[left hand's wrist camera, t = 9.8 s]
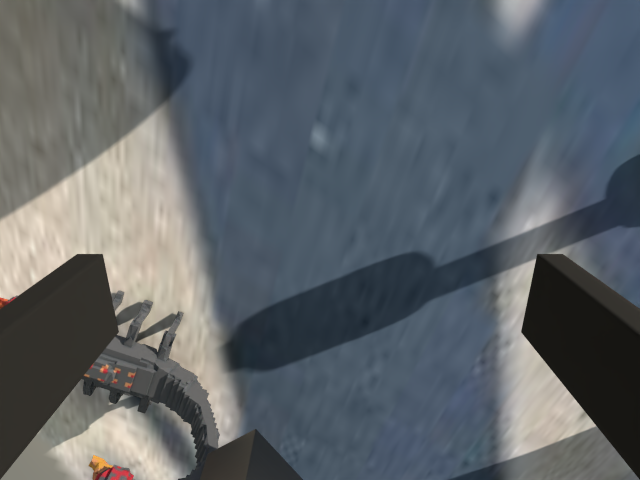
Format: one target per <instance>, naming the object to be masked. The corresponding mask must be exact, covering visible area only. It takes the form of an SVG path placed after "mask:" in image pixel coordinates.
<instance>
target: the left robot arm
mask: <svg viewBox="0 0 640 480" xmlns="http://www.w3.org/2000/svg"><path fill="white" fill-rule="evenodd" d="M118 332H119V331H118V326H117V321H116V316H115V311H114V307H113V302H112V297H111V292H110V287H109V283H108V278H107V273H106V268H105V263H104V258H103V254H77V255H75V256H74V257H73V258H71V259H70V260H68V261H67V262H66V263H64V264H63V265H61V266H60V267H59V268H57V269H56V270H54V271H53V272H51V273H50V274H49V275H47V276H46V277H44V278H43V279H42V280H40V281H39V282H37V283H36V284H35V285H33V286H32V287H30V288H29V289H28V290H26V291H25V292H23V293H22V294H21V295H19V296H18V297H16V298H15V299H13V300H12V301H11V302H9V303H8V304H6V305H5V306H4V307H2V308H1V309H0V479H1V478H2V477H3V475H4V474H5V473H6V472H7V470H8V469H9V468H10V467H11V465H12V464H13V463H14V462H15V460H16V459H17V458H18V457H19V455H20V454H21V453H22V452H23V450H24V449H25V448H26V447H27V446H28V444H29V443H30V442H31V441H32V439H33V438H34V437H35V436H36V434H37V433H38V432H39V431H40V429H41V428H42V427H43V426H44V424H45V423H46V422H47V421H48V419H49V418H50V417H51V416H52V414H53V413H54V412H55V411H56V409H57V408H58V407H59V406H60V404H61V403H62V402H63V401H64V399H65V398H66V397H67V396H68V395H69V393H70V392H71V391H72V390H73V388H74V387H75V386H76V385H77V383H78V382H79V381H80V380H81V378H82V377H83V376H84V375H85V373H86V372H87V371H88V370H89V368H90V367H91V366H92V365H93V363H94V362H95V361H96V360H97V358H98V357H99V356H100V355H101V353H102V352H103V351H104V350H105V348H106V347H107V346H108V345H109V344H110V342H111V341H112V340H113V339H114V337H115V336H116V335H117V334H118ZM521 332H522V334H523V335H524V336H525V337H526V339H527V340H528V341H529V342H530V344H531V345H532V346H533V347H534V348H535V350H536V351H537V352H538V353H539V355H540V356H541V357H542V358H543V360H544V361H545V362H546V363H547V365H548V366H549V367H550V368H551V370H552V371H553V372H554V373H555V375H556V376H557V377H558V378H559V380H560V381H561V382H562V383H563V385H564V386H565V387H566V388H567V390H568V391H569V392H570V393H571V395H572V396H573V397H574V398H575V399H576V401H577V402H578V403H579V404H580V406H581V407H582V408H583V409H584V411H585V412H586V413H587V414H588V416H589V417H590V418H591V419H592V421H593V422H594V423H595V424H596V426H597V427H598V428H599V429H600V431H601V432H602V433H603V434H604V436H605V437H606V438H607V439H608V441H609V442H610V443H611V444H612V446H613V447H614V448H615V449H616V451H617V452H618V453H619V454H620V455H621V457H622V458H623V459H624V460H625V462H626V463H627V464H628V465H629V467H630V468H631V469H632V470H633V472H634V473H635V474H636V475H637V477H638V478H639V479H640V309H639V308H638V307H636V306H635V305H634V304H632V303H631V302H629V301H628V300H626V299H625V298H624V297H622V296H621V295H619V294H618V293H617V292H615V291H614V290H612V289H611V288H610V287H608V286H607V285H605V284H604V283H603V282H601V281H600V280H598V279H597V278H596V277H594V276H593V275H591V274H590V273H589V272H587V271H586V270H584V269H583V268H581V267H580V266H579V265H577V264H576V263H574V262H573V261H572V260H570V259H569V258H567V257H566V256H565V255H563V254H537V258H536V263H535V268H534V273H533V278H532V282H531V287H530V292H529V297H528V302H527V307H526V311H525V316H524V321H523V326H522V331H521Z"/></svg>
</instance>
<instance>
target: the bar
mask: <svg viewBox="0 0 640 480" xmlns="http://www.w3.org/2000/svg"><path fill="white" fill-rule="evenodd" d="M200 480H303V479H302V478H301V477H300V476H299V475H298V474H297V473H296V472H295V471H294V469H293V468H292V467H291V466H290V465H289V464H288V463H287V462H286V461H285V460H284V459H283V458H282V457H281V455H280V454H279V453H278V452H277V451H276V450H275V449H274V448H273V447H272V446H271V445H270V444H269V443H268V442H267V440H266V439H265V438H264V437H263V436H262V435H261V434H260V433H259V432H258V431H257V430H256V429H255V430H253V431H251V432H249V433H247V434H245V435H243V436H241V437H239V438H237V439H235V440H234V441H232V442H230V443H228V444H226V445H224V446H222V447H220V448H218V449H216V450H214V451H212V452H210V453H208V455H207V458H206V462H205V465H204V468H203V471H202V474H201V478H200Z"/></svg>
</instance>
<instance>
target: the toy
mask: <svg viewBox="0 0 640 480" xmlns="http://www.w3.org/2000/svg"><path fill="white" fill-rule="evenodd" d="M123 295H124V292H122V291H118V292H117V294H116V296H115V299H114V301H113V307H114V311H115V310H116V309H117V308H118V306H119V305H120V304H121V302H122V299H123ZM16 297H18V296H15V297H12V298H11V299H10V300H7V299H3V298H0V309H1V308H2V307H4V306H5V305H6V304H8V303H9V302H11V301H12V300H13V299H15V298H16ZM152 304H153V302H150V301H148V300H145V301H144V302H143V304H142V306H141V309H140V311H139V313H138V315H137V316H136V317H135V319H134V320H133V321H132V323H131V324H130V327H129V330H128V333H127V337H126V338H124V337H121V336H118V335H116V336H115V337H114V339H113V340H112V341H111V342H110V344H109V345H108V346H107V347H106V348H105V350H104V351H103V352H102V353H101V355H100V356H99V357H98V358H97V360H96V361H95V362H94V363H93V365H92V366H91V367H90V368H89V370H88V371H87V372H86V373H85V375H84V376H83V377H82V378H81V379H84V386H83V393H84V394H85V395H89V396H90V395H91V394H92V393H93V391H94V390H95V388H96V387H101V388H104V389H108V390H110V396H109V400H110V402H111V403H114V404H116V403H117V402H118V401H119V399H120V397H121V396H122V395H123V394H125V395H133V396H136V397H140V398H141V401H140V404H139V407H138V411H139V412H142V413H145V412H146V410H147V408H148V406H149V404H150V405H151V403H152V401H153V402H155V403H159V402H161V403H164V404H166V407H169V408H170V410H172V411H175V412H176V413H177V414H178V415H179V416H181V418H182V419H184V420H183V421H184V422H188V423H189V424H191V427H192V431H191V434H192V435H193V437H194V438H195V440H194V443H195V444H196V446H195V449H197V452H196V455H195V457H196V458H197V462H196V463H197V466H196V469H195V470H192V472H191V474H190V475H187V476H186V478H181V479H178V480H200V478H201V474H202V471H203V468H204V465H205V462H206V458H207V455H208V453H210V452H212V451H214V450H216V449H218V439H219V435H220V434H219V432H218V429H217V428H216V424H217V423H214V421H215V418H213V414H214V413H213V412H211V411H212V409H211V408H210V406H211V404H209V402H208V400H207V397H208V395H209V393H207V390H204V389H202V387H201V386H200V385H201V384H200V383H198V381H197V378H198V377H197V376H196V375H194V374H193V373H192V372H190V371H188V370H186V369H184V368H182V367H181V366H180V365H179V363H177V362H175V361H173V360H171V359H169V354H170V351H171V347H172V343H173V341H174V339H175V336H176V334H175V331H176V329H177V328H178V326H179V324H180V322H181V319H182V316H183V313H182V312H179V311H178V313H177V316H176V318H175V320H174V322H173V324H172V326H171V327H170V329H169V331H165V333H164V335H163V338H162V342H161V343H160V346H159V350H158V352H157V349H155V348H153V347H150V346H148V345H145V344H142V345H141V344H139V343H137V342H135V340H136V338H137V335H138V333H139V330H140V327H141V325H142V322H143V321H144V319H145V318H146V317H147V315H148V314H149V312H150V310H151V307H152ZM89 466H90V467H92V468H93V470H94V473H93V480H132V479H133V476H134V475H132V474H131V473H130V470H129V468H122V467H119V466H116V465H114V466H111V465H108V464H107V462H106V461H105V460H104V459H102V458H99V457H97V456H95V455H93V458H92V461H91V462H90V464H89Z"/></svg>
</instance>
